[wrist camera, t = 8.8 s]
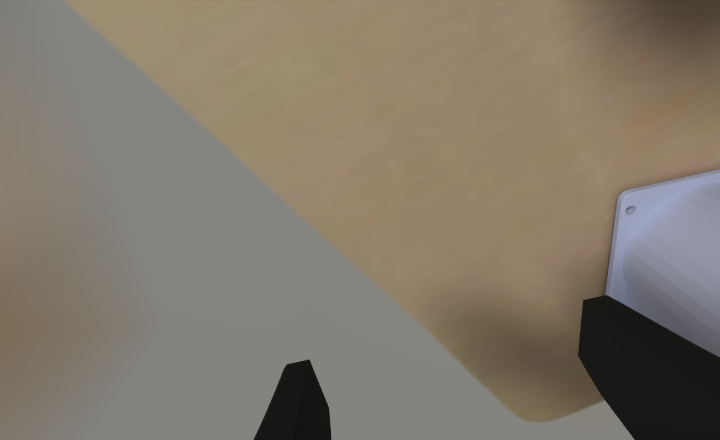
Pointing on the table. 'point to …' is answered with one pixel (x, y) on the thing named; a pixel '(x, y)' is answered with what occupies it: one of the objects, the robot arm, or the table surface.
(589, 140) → the table surface
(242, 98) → the table surface
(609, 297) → the robot arm
